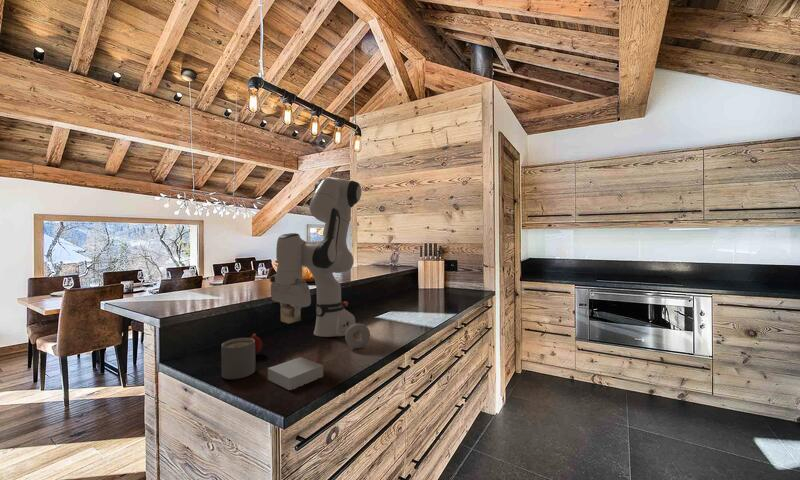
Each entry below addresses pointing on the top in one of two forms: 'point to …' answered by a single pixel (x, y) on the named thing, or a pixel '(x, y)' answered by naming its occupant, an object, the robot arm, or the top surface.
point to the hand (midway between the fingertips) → (290, 316)
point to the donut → (351, 331)
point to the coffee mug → (238, 358)
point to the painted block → (295, 373)
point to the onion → (257, 343)
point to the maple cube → (289, 314)
